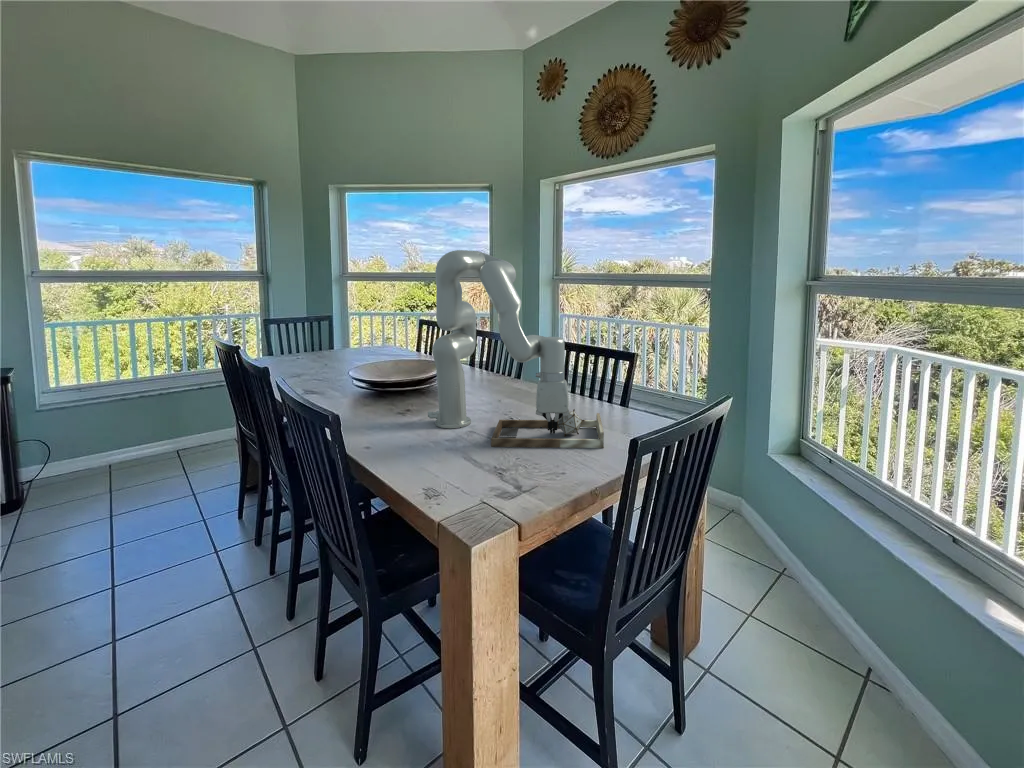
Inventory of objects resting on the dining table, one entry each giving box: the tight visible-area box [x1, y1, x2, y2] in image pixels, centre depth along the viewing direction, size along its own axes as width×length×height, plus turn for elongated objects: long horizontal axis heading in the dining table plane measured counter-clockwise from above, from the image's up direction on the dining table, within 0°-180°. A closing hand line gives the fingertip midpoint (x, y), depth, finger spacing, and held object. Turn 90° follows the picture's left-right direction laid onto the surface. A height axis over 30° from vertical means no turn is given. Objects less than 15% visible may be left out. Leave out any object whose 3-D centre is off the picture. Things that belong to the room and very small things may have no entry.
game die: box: [557, 408, 586, 437], centre depth 162 cm, size 9×8×10 cm
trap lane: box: [490, 412, 605, 449], centre depth 161 cm, size 34×20×5 cm, turn 84°
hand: (552, 432), depth 161 cm, fingers closed
